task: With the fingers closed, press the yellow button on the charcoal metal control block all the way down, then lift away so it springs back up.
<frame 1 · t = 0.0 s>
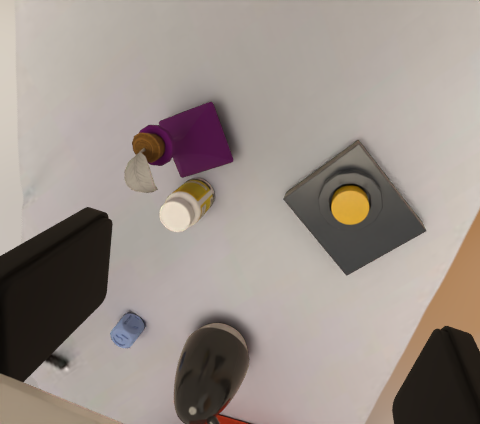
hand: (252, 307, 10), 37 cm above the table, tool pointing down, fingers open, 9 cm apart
button: (349, 204, 42), point 5 cm above the table, slide at 0.1 cm
decorative dice: (134, 322, 64), on the table
perfume bottle: (205, 136, 48), on the table
supplement bottle: (199, 193, 52), on the table
pump dispenser: (224, 338, 60), on the table
console: (352, 207, 47), on the table
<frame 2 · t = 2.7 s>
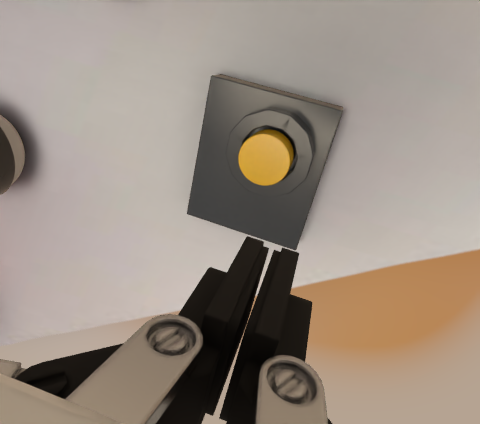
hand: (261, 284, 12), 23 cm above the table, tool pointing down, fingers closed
button: (266, 157, 29), point 5 cm above the table, slide at 0.1 cm
pump dispenser: (4, 144, 42), on the table
console: (262, 161, 35), on the table
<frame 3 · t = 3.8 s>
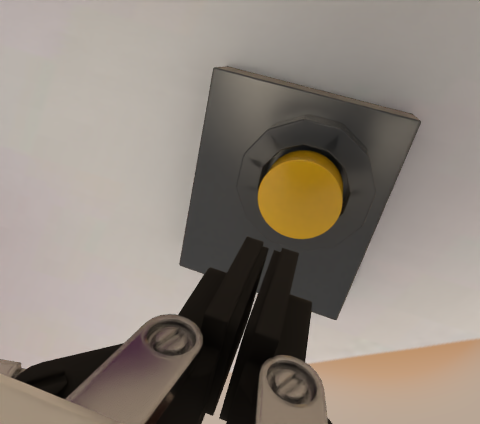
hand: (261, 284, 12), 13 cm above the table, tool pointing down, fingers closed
button: (301, 194, 18), point 5 cm above the table, slide at 0.1 cm
console: (286, 191, 24), on the table
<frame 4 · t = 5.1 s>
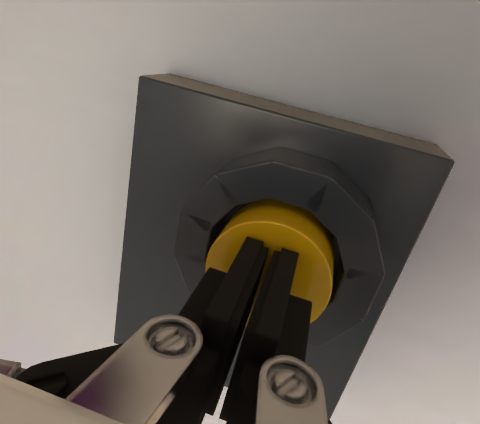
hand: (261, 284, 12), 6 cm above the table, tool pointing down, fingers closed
button: (271, 264, 12), point 4 cm above the table, slide at -0.6 cm, touching gripper
console: (257, 245, 17), on the table
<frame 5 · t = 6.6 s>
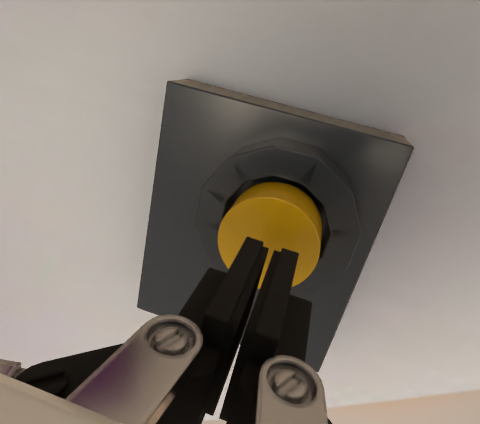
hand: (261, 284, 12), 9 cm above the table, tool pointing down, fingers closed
button: (271, 235, 15), point 5 cm above the table, slide at 0.1 cm
console: (259, 222, 21), on the table
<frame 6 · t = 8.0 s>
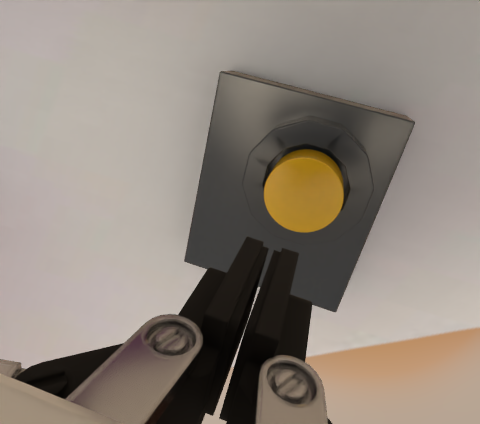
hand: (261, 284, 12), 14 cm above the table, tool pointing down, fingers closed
button: (304, 190, 20), point 5 cm above the table, slide at 0.1 cm
console: (287, 189, 25), on the table
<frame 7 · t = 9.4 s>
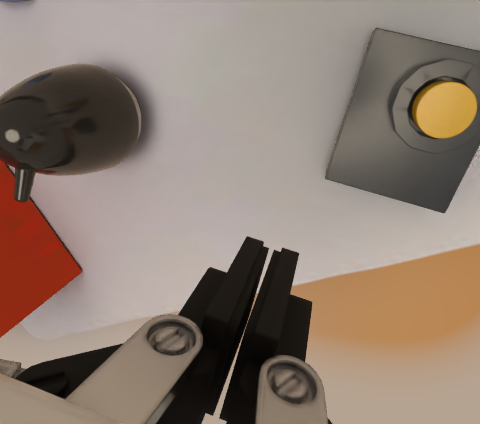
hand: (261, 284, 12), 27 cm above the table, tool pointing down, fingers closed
button: (442, 109, 28), point 5 cm above the table, slide at 0.1 cm
file binder: (27, 227, 50), on the table
pump dispenser: (113, 114, 41), on the table
console: (407, 122, 34), on the table
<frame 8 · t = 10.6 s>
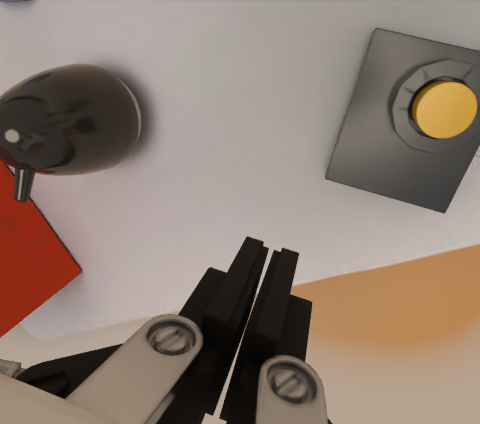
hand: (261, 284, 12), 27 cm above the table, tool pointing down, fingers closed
button: (442, 109, 28), point 5 cm above the table, slide at 0.1 cm
file binder: (27, 228, 50), on the table
pump dispenser: (113, 114, 41), on the table
console: (407, 122, 34), on the table
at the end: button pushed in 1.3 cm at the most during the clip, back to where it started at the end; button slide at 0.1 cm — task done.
